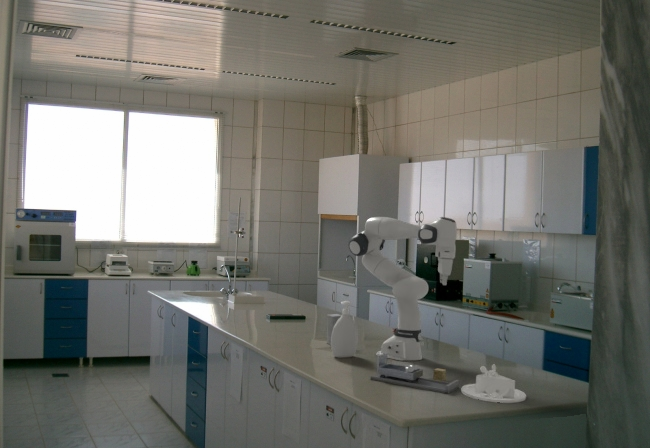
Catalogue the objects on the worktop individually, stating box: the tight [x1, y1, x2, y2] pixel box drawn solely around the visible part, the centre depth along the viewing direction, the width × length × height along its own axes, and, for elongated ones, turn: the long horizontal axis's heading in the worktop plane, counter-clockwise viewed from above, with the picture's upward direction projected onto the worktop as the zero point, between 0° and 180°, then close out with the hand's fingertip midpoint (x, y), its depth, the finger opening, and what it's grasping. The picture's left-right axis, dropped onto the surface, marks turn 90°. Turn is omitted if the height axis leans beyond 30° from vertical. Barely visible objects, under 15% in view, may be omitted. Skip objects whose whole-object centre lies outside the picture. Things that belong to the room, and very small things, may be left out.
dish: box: [460, 363, 527, 404], centre depth 260 cm, size 25×25×11 cm
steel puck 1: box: [405, 366, 414, 373], centre depth 270 cm, size 3×3×3 cm
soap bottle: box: [330, 300, 359, 359], centre depth 318 cm, size 14×8×27 cm, turn 117°
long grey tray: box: [376, 353, 424, 383], centre depth 274 cm, size 17×10×9 cm, turn 59°
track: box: [370, 374, 460, 395], centre depth 271 cm, size 34×12×3 cm, turn 59°
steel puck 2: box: [409, 364, 419, 373], centre depth 273 cm, size 3×3×3 cm
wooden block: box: [432, 367, 447, 382], centre depth 279 cm, size 4×4×4 cm
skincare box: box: [326, 313, 342, 346], centre depth 347 cm, size 8×7×16 cm
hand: (443, 283), depth 298 cm, fingers open, 8 cm apart
